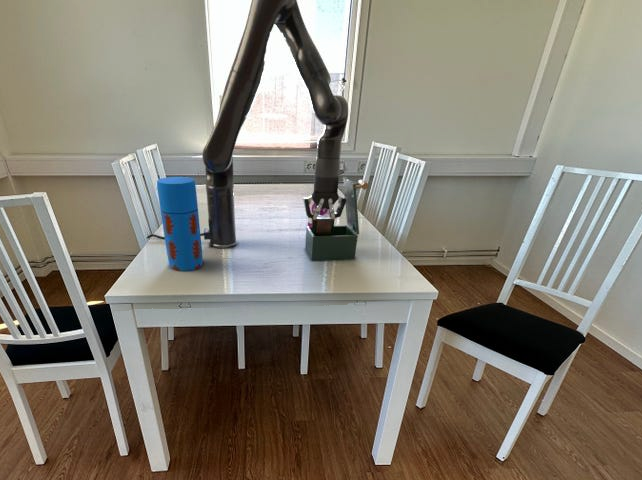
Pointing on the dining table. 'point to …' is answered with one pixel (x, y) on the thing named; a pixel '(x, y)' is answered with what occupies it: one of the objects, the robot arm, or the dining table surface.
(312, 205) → the supplement can
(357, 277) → the dining table surface
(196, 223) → the thermos
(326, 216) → the walnut block
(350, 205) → the tin lid
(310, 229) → the tea tin
